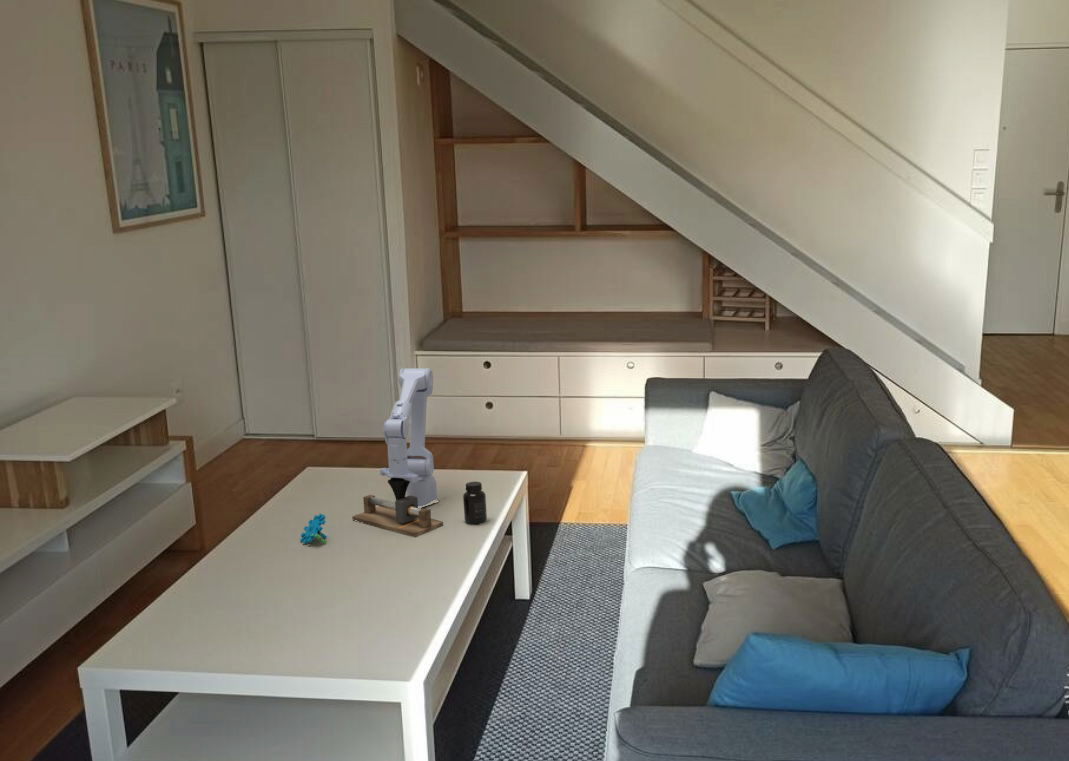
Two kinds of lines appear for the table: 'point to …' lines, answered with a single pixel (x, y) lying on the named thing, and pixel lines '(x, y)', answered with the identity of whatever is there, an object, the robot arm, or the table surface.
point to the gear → (314, 530)
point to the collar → (401, 508)
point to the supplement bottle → (474, 504)
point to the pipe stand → (387, 517)
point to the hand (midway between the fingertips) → (400, 501)
